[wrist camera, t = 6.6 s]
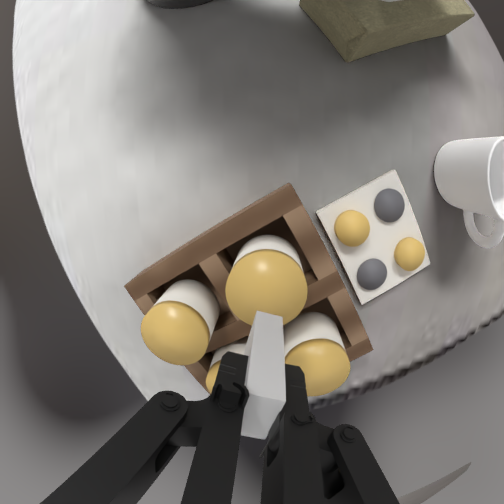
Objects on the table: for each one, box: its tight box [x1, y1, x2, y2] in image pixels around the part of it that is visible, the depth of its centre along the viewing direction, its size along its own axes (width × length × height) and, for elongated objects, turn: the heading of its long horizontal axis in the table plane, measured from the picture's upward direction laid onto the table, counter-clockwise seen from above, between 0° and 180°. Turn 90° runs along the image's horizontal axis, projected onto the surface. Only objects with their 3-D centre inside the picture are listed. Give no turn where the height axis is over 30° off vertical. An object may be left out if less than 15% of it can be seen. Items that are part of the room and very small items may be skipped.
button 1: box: [141, 279, 220, 365], centre depth 25 cm, size 6×6×6 cm
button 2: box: [206, 336, 248, 393], centre depth 29 cm, size 6×6×6 cm
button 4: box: [283, 312, 350, 396], centre depth 25 cm, size 6×6×6 cm
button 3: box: [225, 235, 307, 326], centre depth 23 cm, size 6×6×6 cm
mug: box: [434, 137, 504, 249], centre depth 21 cm, size 12×8×10 cm
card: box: [316, 170, 430, 305], centre depth 27 cm, size 12×10×2 cm
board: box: [124, 183, 373, 395], centre depth 29 cm, size 20×20×5 cm
